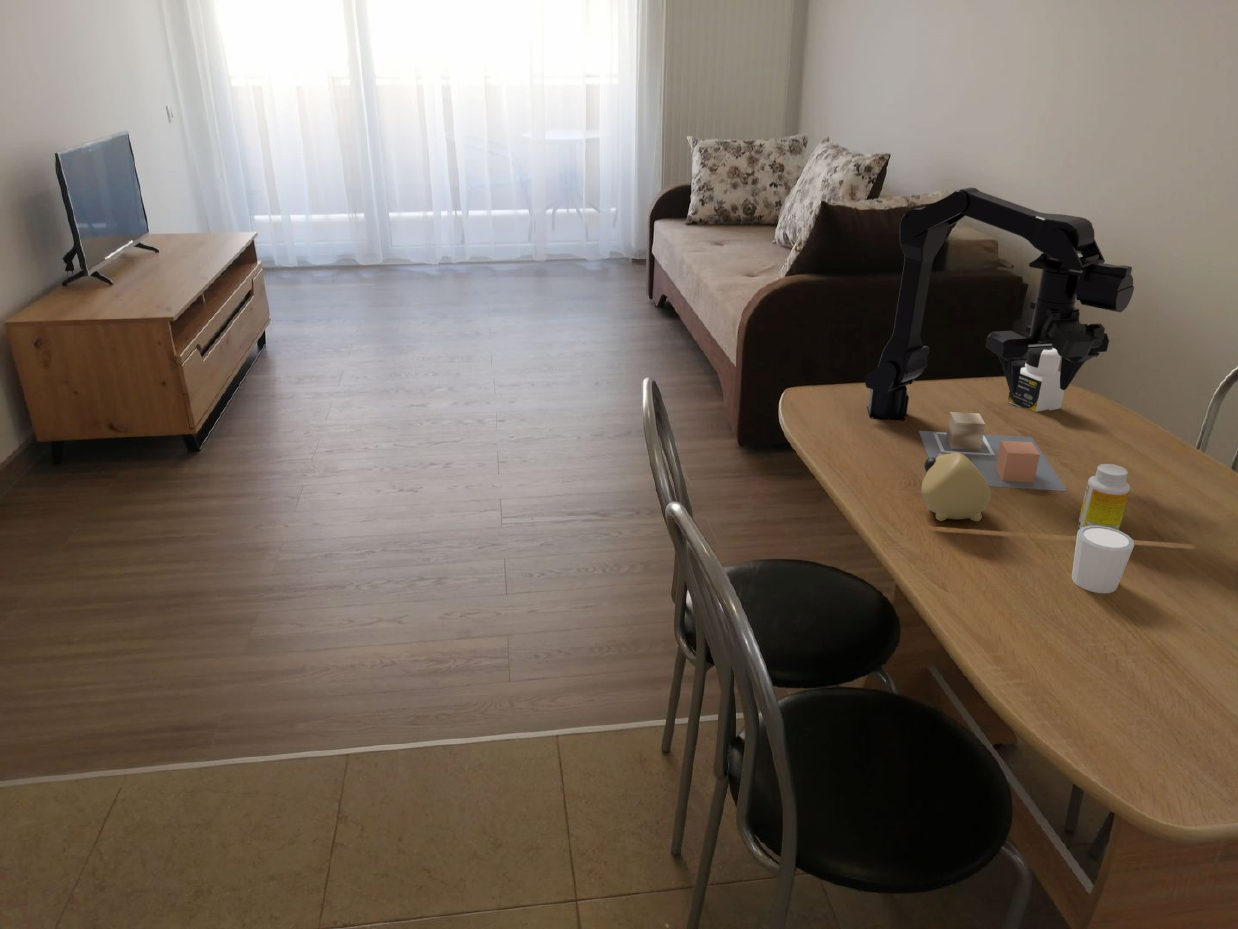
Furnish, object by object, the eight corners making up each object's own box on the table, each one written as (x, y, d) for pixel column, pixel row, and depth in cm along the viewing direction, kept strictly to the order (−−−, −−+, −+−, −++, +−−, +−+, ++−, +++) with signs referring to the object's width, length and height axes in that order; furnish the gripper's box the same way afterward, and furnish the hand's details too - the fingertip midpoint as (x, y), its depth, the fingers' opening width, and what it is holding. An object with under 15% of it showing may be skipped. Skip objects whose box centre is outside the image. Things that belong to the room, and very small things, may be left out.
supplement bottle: (1125, 540, 137) (1142, 477, 133) (1088, 540, 137) (1103, 477, 133) (1106, 521, 142) (1121, 460, 138) (1070, 522, 142) (1084, 461, 138)
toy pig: (972, 498, 149) (983, 437, 145) (993, 536, 138) (1006, 471, 134) (909, 496, 150) (918, 435, 145) (925, 532, 139) (935, 468, 135)
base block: (951, 448, 165) (955, 422, 163) (946, 437, 170) (950, 411, 168) (980, 450, 165) (985, 424, 163) (974, 439, 169) (979, 413, 167)
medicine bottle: (1006, 402, 188) (1017, 345, 182) (1032, 397, 190) (1044, 340, 185) (1034, 414, 182) (1046, 355, 177) (1061, 409, 184) (1074, 350, 179)
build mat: (938, 486, 153) (939, 482, 153) (918, 433, 173) (918, 430, 172) (1066, 494, 151) (1067, 490, 150) (1031, 440, 170) (1031, 436, 170)
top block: (1002, 480, 154) (1007, 452, 152) (995, 467, 158) (1000, 440, 156) (1034, 482, 153) (1040, 454, 151) (1026, 469, 158) (1031, 442, 156)
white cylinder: (1119, 601, 123) (1131, 555, 120) (1062, 586, 126) (1073, 541, 123) (1125, 577, 128) (1137, 533, 125) (1070, 563, 131) (1081, 519, 128)
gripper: (1031, 315, 140) (1013, 412, 147) (1142, 309, 144) (1119, 404, 150) (991, 297, 150) (976, 388, 157) (1096, 291, 153) (1076, 381, 160)
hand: (1037, 391), depth 156 cm, fingers open, 9 cm apart
